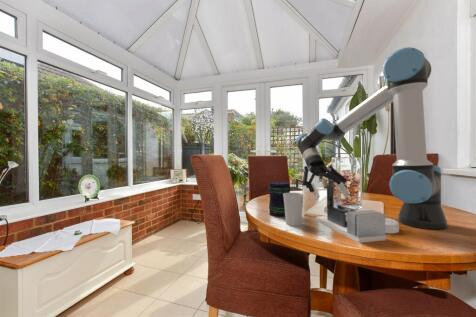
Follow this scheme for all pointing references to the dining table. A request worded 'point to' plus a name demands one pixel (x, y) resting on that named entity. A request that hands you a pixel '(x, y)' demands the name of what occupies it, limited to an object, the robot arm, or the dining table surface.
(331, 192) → the dark grey l-shaped bracket
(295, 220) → the cup
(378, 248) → the dining table surface
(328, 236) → the dining table surface
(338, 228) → the base board
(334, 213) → the sleeve and socket
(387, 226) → the coaster
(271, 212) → the storage jar
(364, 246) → the dining table surface
